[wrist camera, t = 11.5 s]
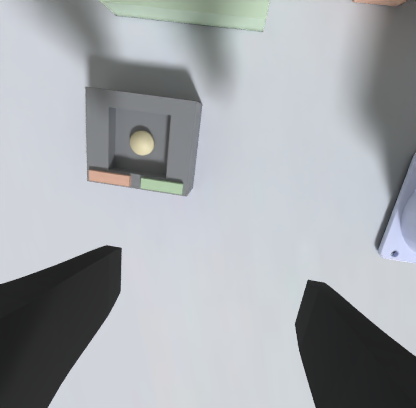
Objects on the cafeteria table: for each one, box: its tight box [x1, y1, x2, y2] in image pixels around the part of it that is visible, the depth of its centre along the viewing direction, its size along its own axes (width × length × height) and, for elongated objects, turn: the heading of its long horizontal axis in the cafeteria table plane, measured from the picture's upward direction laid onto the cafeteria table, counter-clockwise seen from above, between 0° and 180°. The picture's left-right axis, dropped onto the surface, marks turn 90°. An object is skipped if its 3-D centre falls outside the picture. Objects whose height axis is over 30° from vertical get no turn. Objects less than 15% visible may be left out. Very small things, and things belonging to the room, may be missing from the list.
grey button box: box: [86, 87, 202, 196], centre depth 17 cm, size 7×6×3 cm
